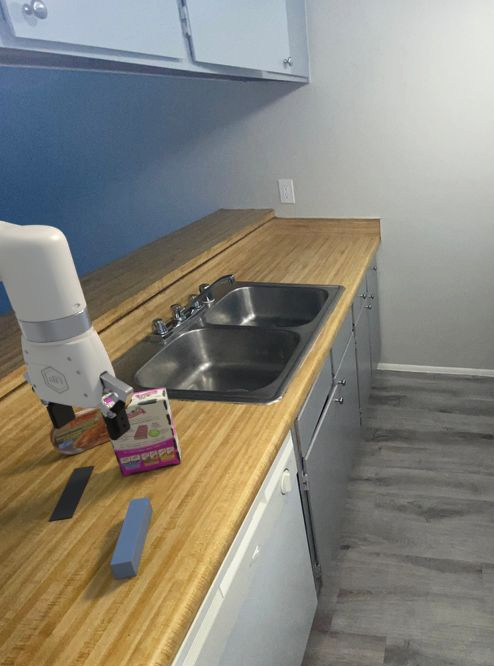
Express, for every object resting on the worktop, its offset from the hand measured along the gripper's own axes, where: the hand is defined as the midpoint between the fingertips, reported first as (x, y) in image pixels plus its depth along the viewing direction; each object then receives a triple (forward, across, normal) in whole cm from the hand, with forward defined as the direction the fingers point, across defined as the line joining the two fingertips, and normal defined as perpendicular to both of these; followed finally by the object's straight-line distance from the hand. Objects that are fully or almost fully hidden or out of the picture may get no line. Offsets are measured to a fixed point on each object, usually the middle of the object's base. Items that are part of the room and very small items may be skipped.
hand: (93, 428), depth 69 cm
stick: (+25, 0, +1) cm, 25 cm away
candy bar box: (+25, -11, +18) cm, 33 cm away
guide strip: (+25, -20, +7) cm, 32 cm away
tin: (+25, -27, +21) cm, 42 cm away
